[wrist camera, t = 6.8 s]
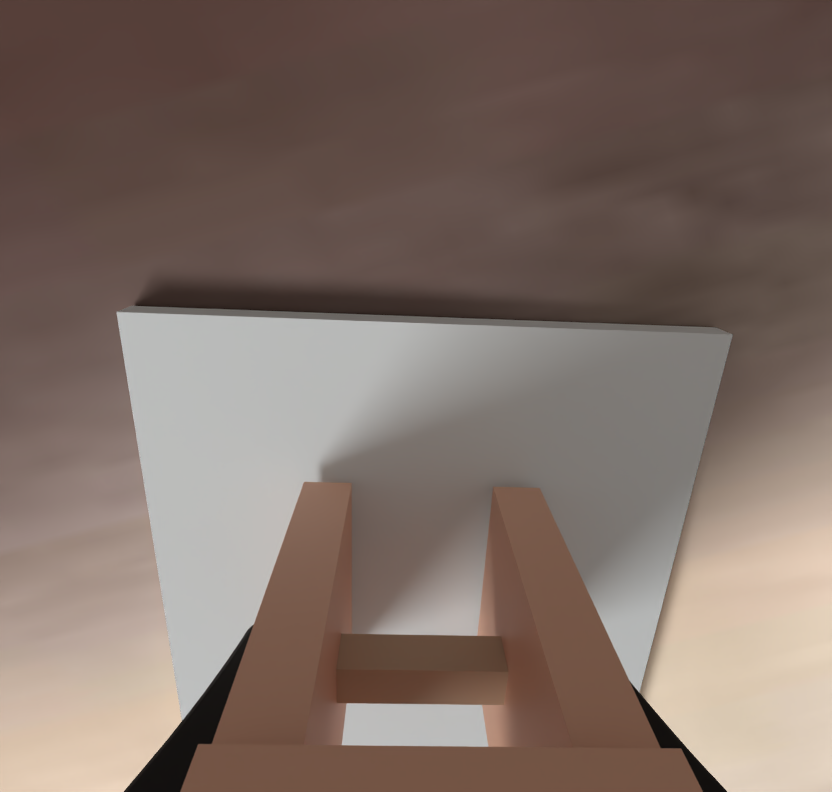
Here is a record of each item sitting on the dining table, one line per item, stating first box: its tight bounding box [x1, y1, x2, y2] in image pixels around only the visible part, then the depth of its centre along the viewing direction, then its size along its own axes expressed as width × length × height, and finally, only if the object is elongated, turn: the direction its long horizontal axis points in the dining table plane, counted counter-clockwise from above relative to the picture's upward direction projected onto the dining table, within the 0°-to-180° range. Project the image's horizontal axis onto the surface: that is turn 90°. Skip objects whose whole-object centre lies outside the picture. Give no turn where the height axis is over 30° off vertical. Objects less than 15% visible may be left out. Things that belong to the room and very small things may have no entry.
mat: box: [117, 306, 733, 747], centre depth 13 cm, size 12×12×1 cm
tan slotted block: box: [180, 482, 703, 792], centre depth 9 cm, size 6×5×7 cm
